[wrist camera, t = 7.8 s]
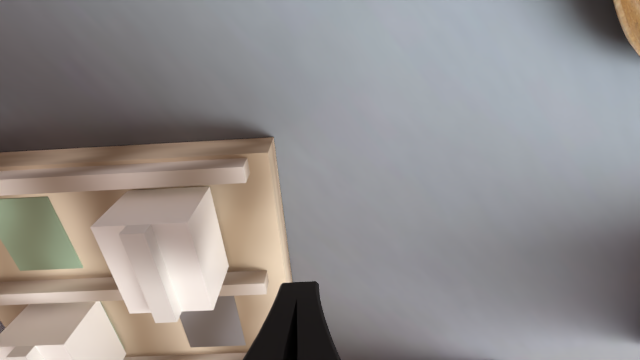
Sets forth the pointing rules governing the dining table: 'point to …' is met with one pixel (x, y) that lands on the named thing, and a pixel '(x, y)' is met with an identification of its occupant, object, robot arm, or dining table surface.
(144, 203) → the switch knob
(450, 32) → the dining table surface
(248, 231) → the switch board
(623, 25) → the plant saucer
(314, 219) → the dining table surface
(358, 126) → the dining table surface
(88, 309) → the switch knob
